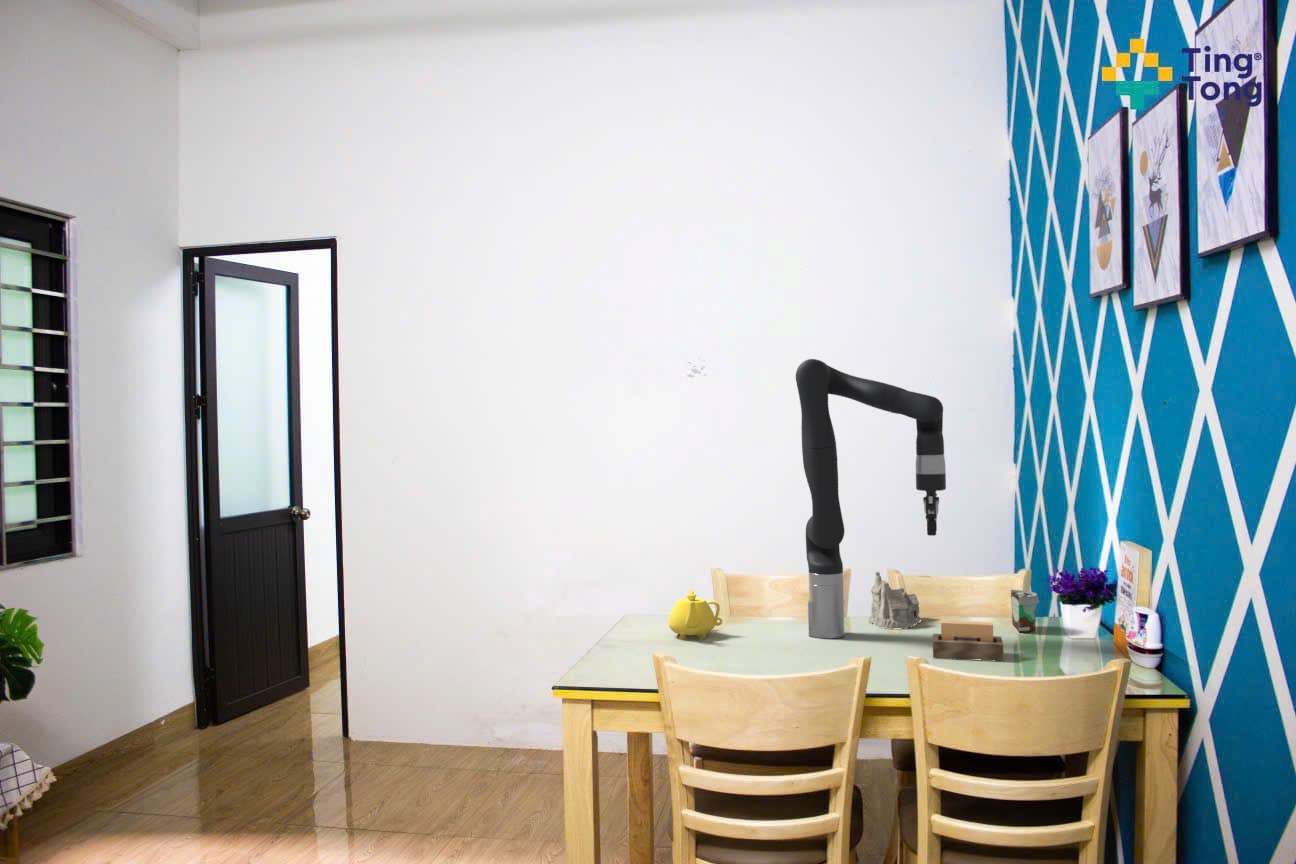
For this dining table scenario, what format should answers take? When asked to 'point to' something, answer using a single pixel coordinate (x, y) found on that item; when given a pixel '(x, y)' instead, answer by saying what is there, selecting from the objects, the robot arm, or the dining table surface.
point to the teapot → (693, 616)
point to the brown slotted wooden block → (968, 648)
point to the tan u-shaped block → (967, 630)
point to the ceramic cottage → (893, 606)
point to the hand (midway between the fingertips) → (932, 533)
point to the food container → (1024, 610)
